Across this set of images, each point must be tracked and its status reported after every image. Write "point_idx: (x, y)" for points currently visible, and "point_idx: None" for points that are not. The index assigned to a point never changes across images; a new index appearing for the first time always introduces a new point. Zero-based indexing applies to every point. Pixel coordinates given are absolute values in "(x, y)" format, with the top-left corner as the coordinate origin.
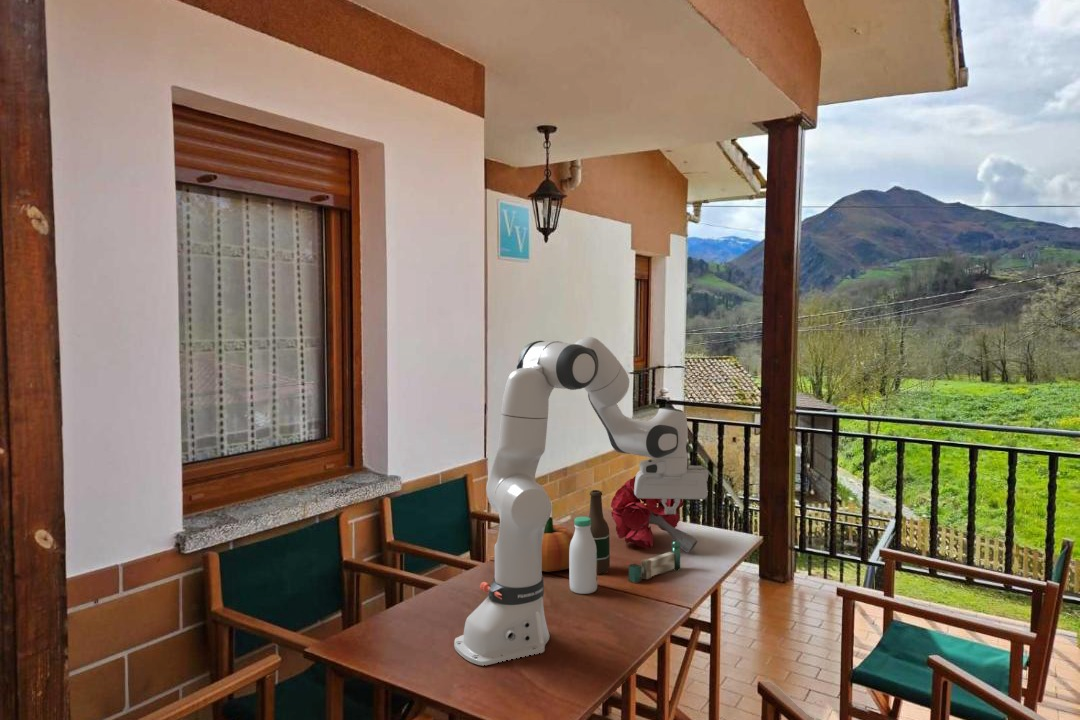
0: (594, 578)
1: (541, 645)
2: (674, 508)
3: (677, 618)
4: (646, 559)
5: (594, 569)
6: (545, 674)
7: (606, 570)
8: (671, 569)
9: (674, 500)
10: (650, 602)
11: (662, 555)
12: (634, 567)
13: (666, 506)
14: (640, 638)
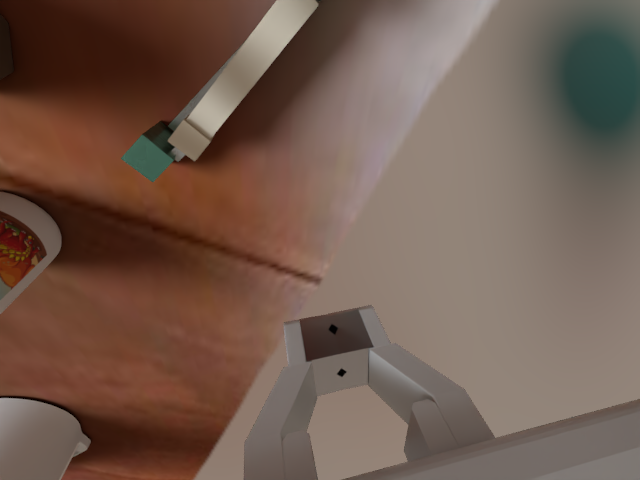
0: (37, 272)
1: (80, 447)
2: (375, 384)
3: None
4: (189, 135)
5: (17, 292)
6: (122, 464)
7: (8, 66)
8: None
9: (411, 441)
10: (235, 273)
11: (258, 47)
12: (152, 180)
13: (306, 420)
14: (231, 384)
